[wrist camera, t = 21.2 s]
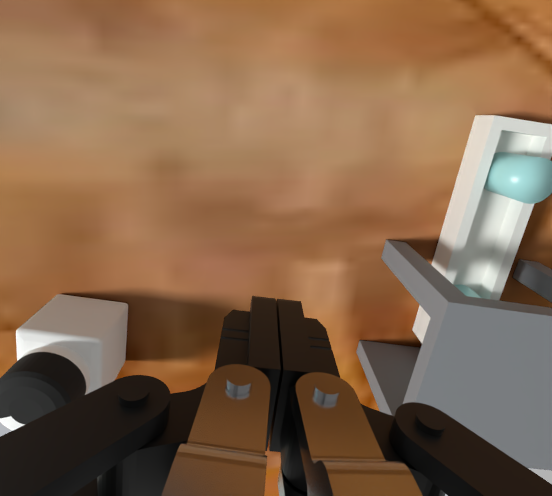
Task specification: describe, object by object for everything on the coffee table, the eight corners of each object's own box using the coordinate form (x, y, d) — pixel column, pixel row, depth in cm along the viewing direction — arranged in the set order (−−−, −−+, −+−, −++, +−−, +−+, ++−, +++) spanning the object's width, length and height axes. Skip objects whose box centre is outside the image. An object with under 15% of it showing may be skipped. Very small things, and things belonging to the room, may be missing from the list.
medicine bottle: (57, 292, 39) (-29, 365, 27) (129, 302, 39) (75, 377, 28) (57, 352, 41) (-21, 443, 30) (126, 361, 42) (75, 453, 30)
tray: (475, 115, 34) (519, 115, 29) (538, 125, 35) (593, 127, 29) (412, 329, 41) (437, 365, 36) (465, 336, 42) (498, 371, 36)
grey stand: (386, 239, 38) (448, 302, 25) (537, 261, 39) (669, 332, 27) (356, 352, 42) (397, 454, 29) (494, 368, 43) (590, 474, 31)
